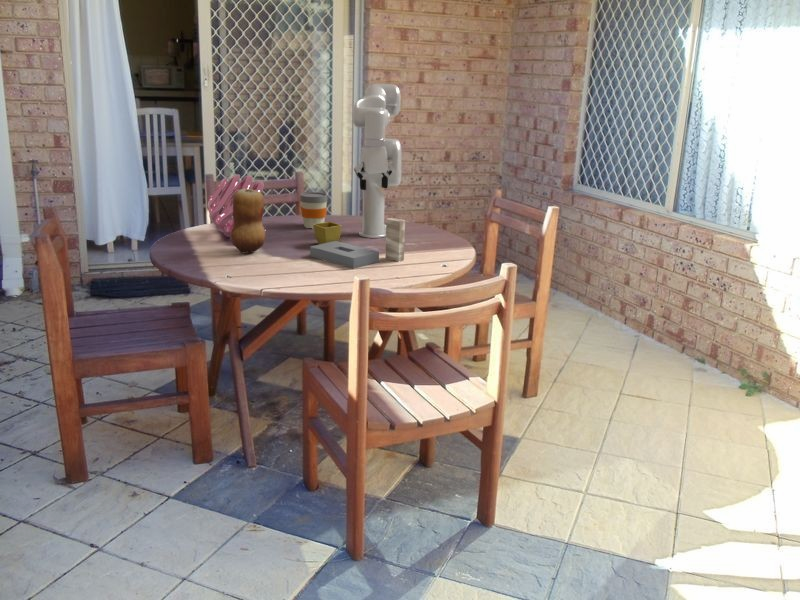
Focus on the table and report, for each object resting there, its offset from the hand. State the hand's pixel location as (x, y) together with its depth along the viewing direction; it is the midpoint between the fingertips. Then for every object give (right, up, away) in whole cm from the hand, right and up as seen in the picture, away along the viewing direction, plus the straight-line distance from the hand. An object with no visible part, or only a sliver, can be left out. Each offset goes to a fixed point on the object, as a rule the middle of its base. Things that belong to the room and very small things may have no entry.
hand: (373, 188), depth 281 cm
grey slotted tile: (-12, -27, +6) cm, 30 cm away
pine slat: (+8, -27, +8) cm, 29 cm away
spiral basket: (-60, -15, +37) cm, 72 cm away
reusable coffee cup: (-30, -9, +59) cm, 66 cm away
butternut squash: (-51, -24, +13) cm, 57 cm away
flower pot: (-20, -20, +26) cm, 39 cm away
